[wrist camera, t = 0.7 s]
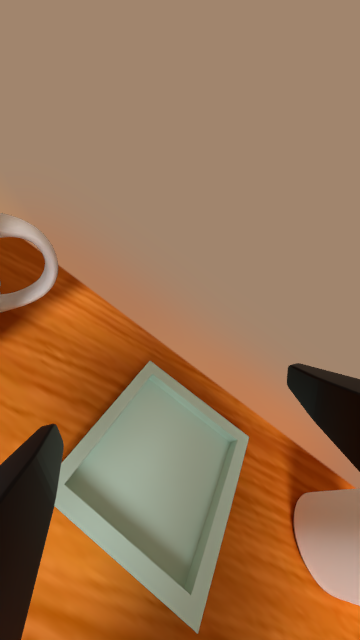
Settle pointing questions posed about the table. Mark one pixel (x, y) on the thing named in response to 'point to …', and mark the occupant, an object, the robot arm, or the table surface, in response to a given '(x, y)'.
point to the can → (331, 540)
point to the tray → (157, 488)
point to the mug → (19, 228)
